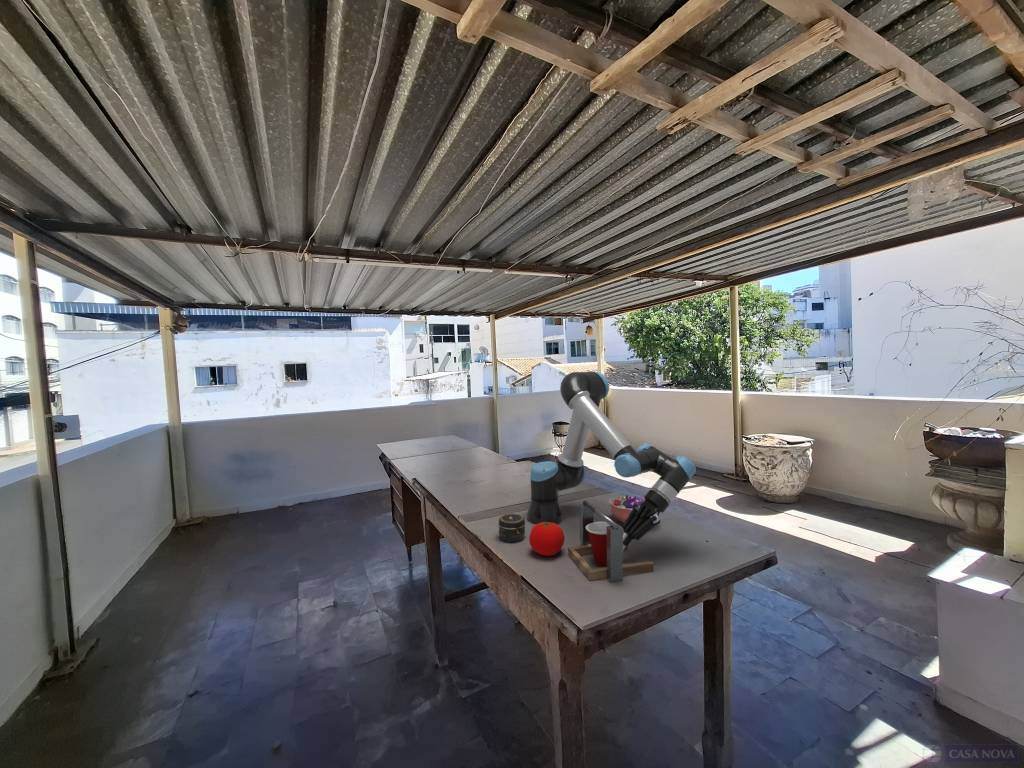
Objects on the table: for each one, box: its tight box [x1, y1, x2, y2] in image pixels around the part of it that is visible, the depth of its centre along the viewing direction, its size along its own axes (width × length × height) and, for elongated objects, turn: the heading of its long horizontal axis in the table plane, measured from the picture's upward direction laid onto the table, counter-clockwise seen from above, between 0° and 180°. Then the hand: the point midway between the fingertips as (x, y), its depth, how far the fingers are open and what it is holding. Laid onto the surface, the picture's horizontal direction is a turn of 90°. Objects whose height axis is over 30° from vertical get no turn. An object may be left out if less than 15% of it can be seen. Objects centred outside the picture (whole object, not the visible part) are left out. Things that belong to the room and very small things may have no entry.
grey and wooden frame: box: [567, 500, 655, 584], centre depth 127 cm, size 22×22×17 cm
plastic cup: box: [586, 521, 610, 567], centre depth 127 cm, size 11×11×12 cm
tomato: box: [528, 522, 566, 557], centre depth 134 cm, size 11×12×10 cm
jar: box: [498, 513, 526, 544], centre depth 147 cm, size 10×10×8 cm
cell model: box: [608, 494, 645, 524], centre depth 160 cm, size 17×20×11 cm
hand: (615, 551), depth 127 cm, fingers closed
